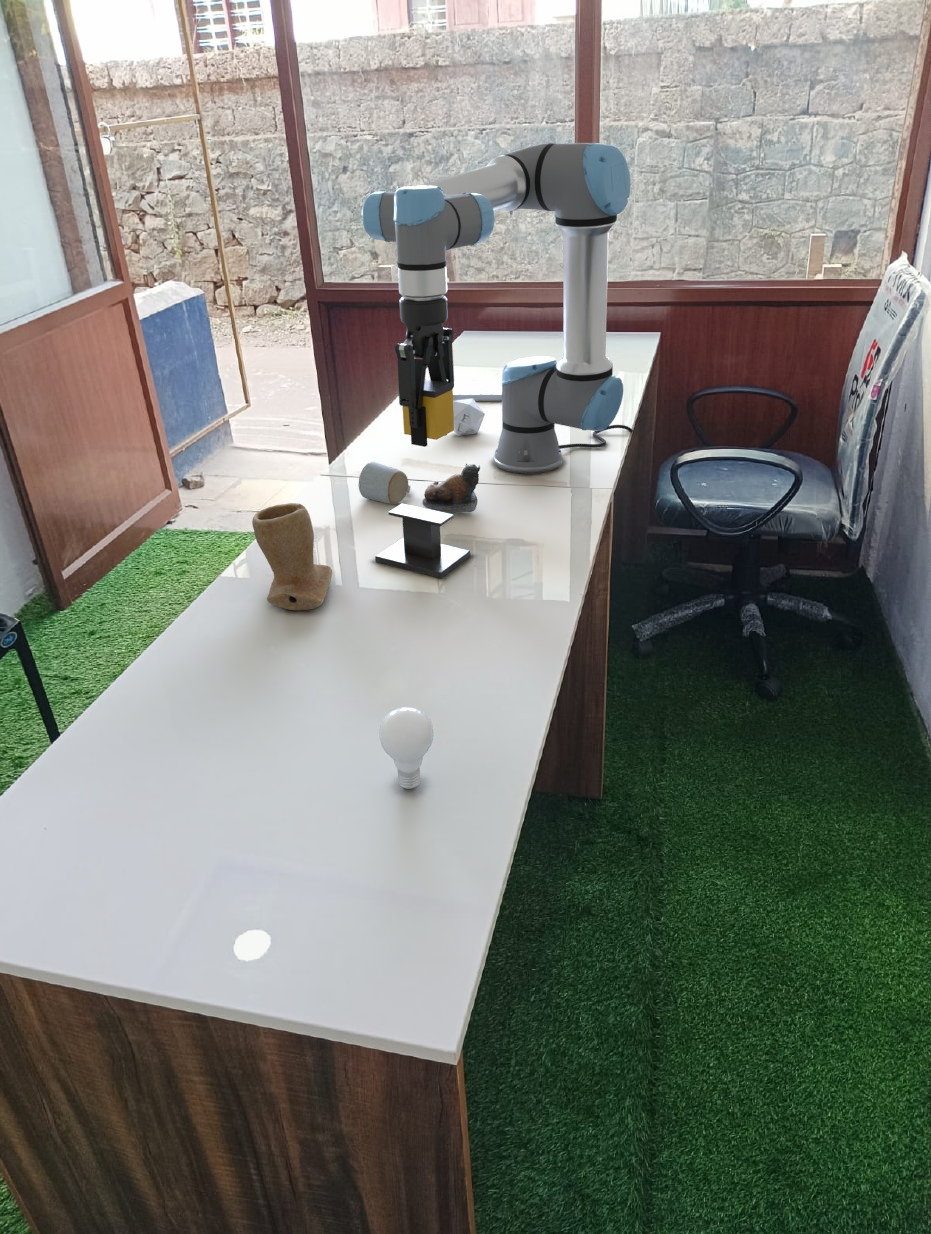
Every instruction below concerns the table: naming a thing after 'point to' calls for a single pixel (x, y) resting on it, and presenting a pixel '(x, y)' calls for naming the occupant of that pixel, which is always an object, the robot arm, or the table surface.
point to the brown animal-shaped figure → (454, 492)
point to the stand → (422, 543)
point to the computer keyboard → (478, 390)
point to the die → (467, 417)
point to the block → (435, 409)
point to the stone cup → (291, 557)
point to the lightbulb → (406, 742)
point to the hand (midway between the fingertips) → (429, 439)
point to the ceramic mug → (383, 483)
